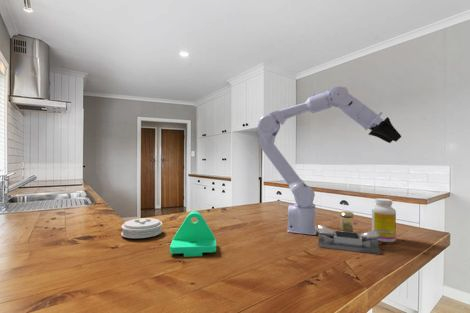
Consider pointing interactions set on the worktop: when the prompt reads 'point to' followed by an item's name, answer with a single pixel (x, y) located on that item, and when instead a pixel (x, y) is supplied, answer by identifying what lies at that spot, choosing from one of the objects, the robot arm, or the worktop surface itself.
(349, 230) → the coupling
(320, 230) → the shaft stand
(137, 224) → the lid
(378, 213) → the supplement bottle
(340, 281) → the worktop surface
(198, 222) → the camera mount
